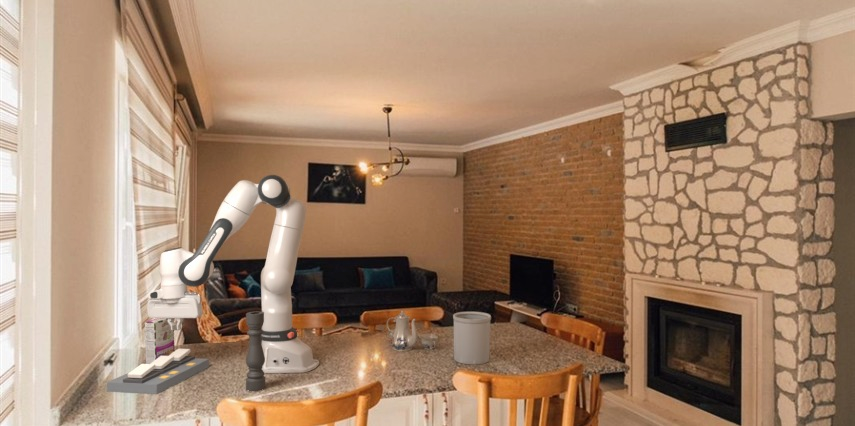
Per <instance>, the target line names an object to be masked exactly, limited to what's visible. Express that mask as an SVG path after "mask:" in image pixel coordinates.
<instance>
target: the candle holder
mask: <svg viewBox="0 0 855 426" xmlns="http://www.w3.org/2000/svg"><path fill="white" fill-rule="evenodd" d="M245 317H246V318H245V323H246V326H247V328H248V330H247V331H246V334H247V335H248V340H249V341H248V343H249V344H248V347H247V348H248V350H247V354H246V358H245V365H246V367H248V372H247V373H246V379H245V391H247V390H249V391H248V392H250V391H255V392H259V391H258V390H261V391H263V390H265V389H266V376H265V373H264V372H263V370H262V366H263V365H264V363H265V356H264V352H263V348H262V344H261V335H262V333H263V330H262V326H263V323H264V312H262V311H260V310H259V311H249V312H248V311H247V313H245ZM264 388H265V389H264ZM262 389H263V390H262Z"/></svg>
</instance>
